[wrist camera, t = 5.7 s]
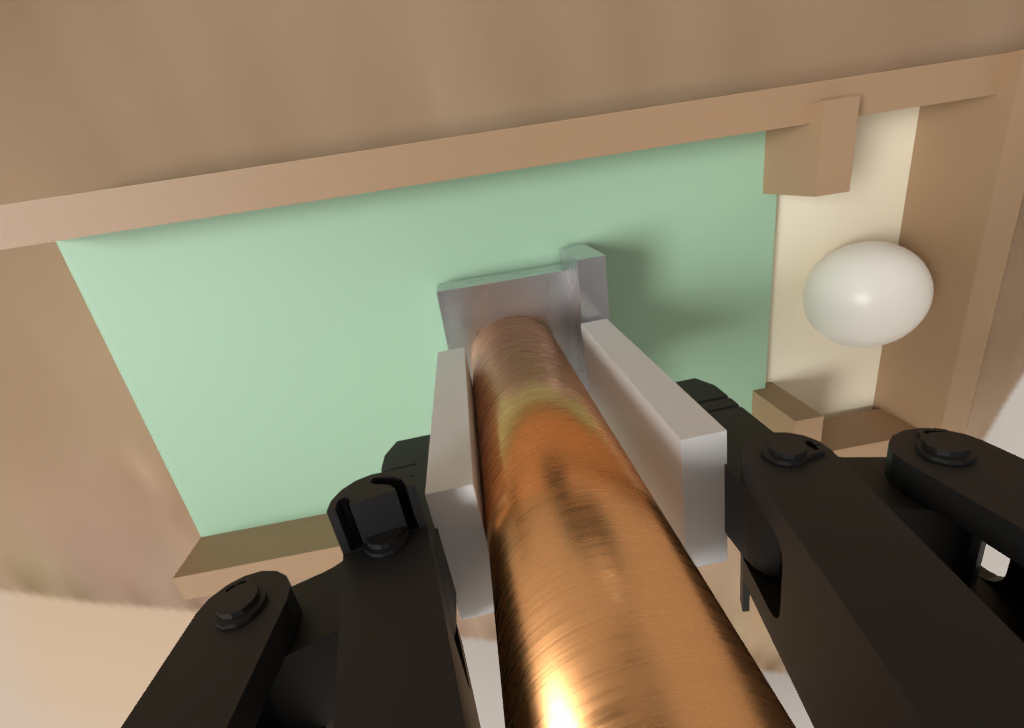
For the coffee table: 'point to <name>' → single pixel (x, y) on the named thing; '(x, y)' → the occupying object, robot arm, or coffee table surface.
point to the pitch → (534, 243)
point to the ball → (868, 294)
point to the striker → (584, 529)
